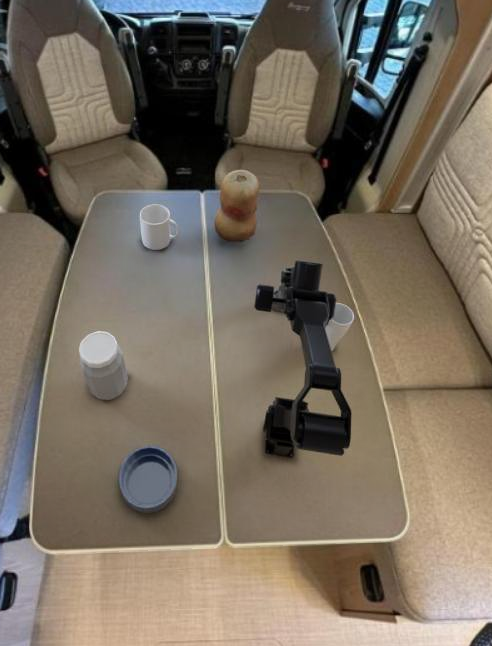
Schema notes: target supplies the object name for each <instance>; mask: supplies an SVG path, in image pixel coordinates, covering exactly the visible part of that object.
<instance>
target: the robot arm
mask: <svg viewBox="0 0 492 646" xmlns="http://www.w3.org/2000/svg"><path fill="white" fill-rule="evenodd" d="M323 266H324V264H323V263H319V262H312V261H304V260H303V261H302V260H295V261H294V266H293V267H285V269H282V270H281V273H280V275H281V276H280V284H282V283H284V286H285V287H286V288H285V292H284V294H286V296H285V297H284V298H276V297H273V294H274V292H275V286H274V285H269V284H268V285H267V284H258V285H257V286H256V289H255V297H254V305H253V307H254V309H255V310H256V311H259V312H266V313H271V312H272V309H273V307H279V308H284V312H283V315H285V317H286V318H287V321H288V322H289V323H290V327H291V330H292V332H293V333H294V334H296V335H297V336H298V337H299V339H300V344H301V349H302V355H303V360H304V365H305V371H304V381H303V382H304V383H303V387H302V389H301V390H300V391H299V393H298V394H297V395H296V397H295V398H294V399H292V398H285V397H278V396H275V399H274V400H273V401H272V404H269V405H268V407H267V410H265V416H264V421H263V425H262V431H263V433H264V435H265V436H264V438H265V443H264V444H265V446H264V447H265V448H264V453H265V454H267V455H270V456H278V457H285V458H291V459H292V458H294V457H295V448H296V449H297V450H301V451H308V452H315V453H321V454H327V455H333V456H340V457H342V456H343V455H344V454H345V450H348V449H349V448H350V445H351V439H352V409H351V407H350V405H349V403H348V401H347V399H346V397H345V395H344V393H343V391H342V371H341V368H340V367H337V366H336V362H335V359H334V355H333V352H332V351H331V348H330V344H329V340H328V337H327V333H326V330H325V329H326V326H327V325H328V323H329V320H331V319H332V318H333V317H334V312H335V306H336V303H337V296H336V295H335V294H334V293H330V292H328V291H323V290H320V285H321V280H322V279H321V278H322V272H323ZM272 302H277V303H278V304H277V303H276V304H275V303H273V304H272ZM279 303H283V305H282V304H281V305H280V304H279ZM311 389H316V390H322V391H329V392H331V394H332V396H333V398H334V400H335V402H336V404H337V406H338V408H339V410H340V415H334V414H327V413H320V412H315V411H314V412H313V411H310V410H309V402H306V401H305V398H306V396H307V395H308V394H309V392H311Z"/></svg>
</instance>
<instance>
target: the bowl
mask: <svg viewBox="0 0 492 646" xmlns="http://www.w3.org/2000/svg"><path fill="white" fill-rule="evenodd" d="M118 486H119V489H120V492H121V494H122V496H123V499H124V501H125V502H126V503H127V504H128V506H129V507H130V508H131V509H133V510H134V511H136V512H138V513H143V514H152V513H157V512H159V511H161V510H163V509H164V508H166V507H167V506H168V505H169V504H170V503H171V501H173V499H174V497H175V494H176V492H177V489H178V469H177V465H176V462H175V460H174V458H173V456H172V455H171V454H170V453H169V452H168V451H167V450H166V449H163V448H162V447H160V446H156V445H144V446H140V447H138V448H136V449H134V450H132V451H131V452H130V453H129V454H128V455H126V457H125V458H124V459H123V462H122V463H121V465H120V470H119V474H118Z"/></svg>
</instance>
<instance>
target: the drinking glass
mask: <svg viewBox="0 0 492 646" xmlns="http://www.w3.org/2000/svg"><path fill="white" fill-rule="evenodd" d="M354 319H355V314H354V312H353V310H352V309H351V308H350V307H349V306H348V305H346V304H345V303H344V304H343V303H340V302H336V306H335V312H334V317H333V318H332V319H331V320H329V323H328V325H327V326H326V329H325V330H326V333H327V337H328V340H329V344H330V348H331V351H334V350H335V348H336V346H337V345H338V344H339V342H340V341H341V340H342V339H343V337H344V336H345V335H346V334H347V332H348V331H349V329H350V328H351V326H352V324H353V322H354Z"/></svg>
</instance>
